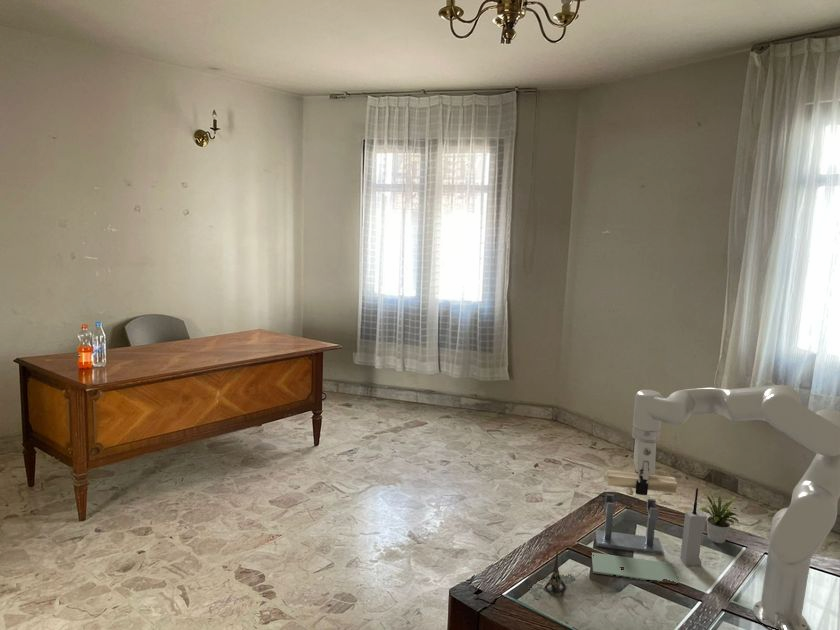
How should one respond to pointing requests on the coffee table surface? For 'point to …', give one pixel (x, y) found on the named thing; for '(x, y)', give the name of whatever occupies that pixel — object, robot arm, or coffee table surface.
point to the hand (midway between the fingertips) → (640, 490)
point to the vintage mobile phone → (692, 535)
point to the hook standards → (628, 540)
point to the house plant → (719, 519)
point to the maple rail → (631, 478)
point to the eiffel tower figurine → (552, 582)
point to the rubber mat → (632, 567)
